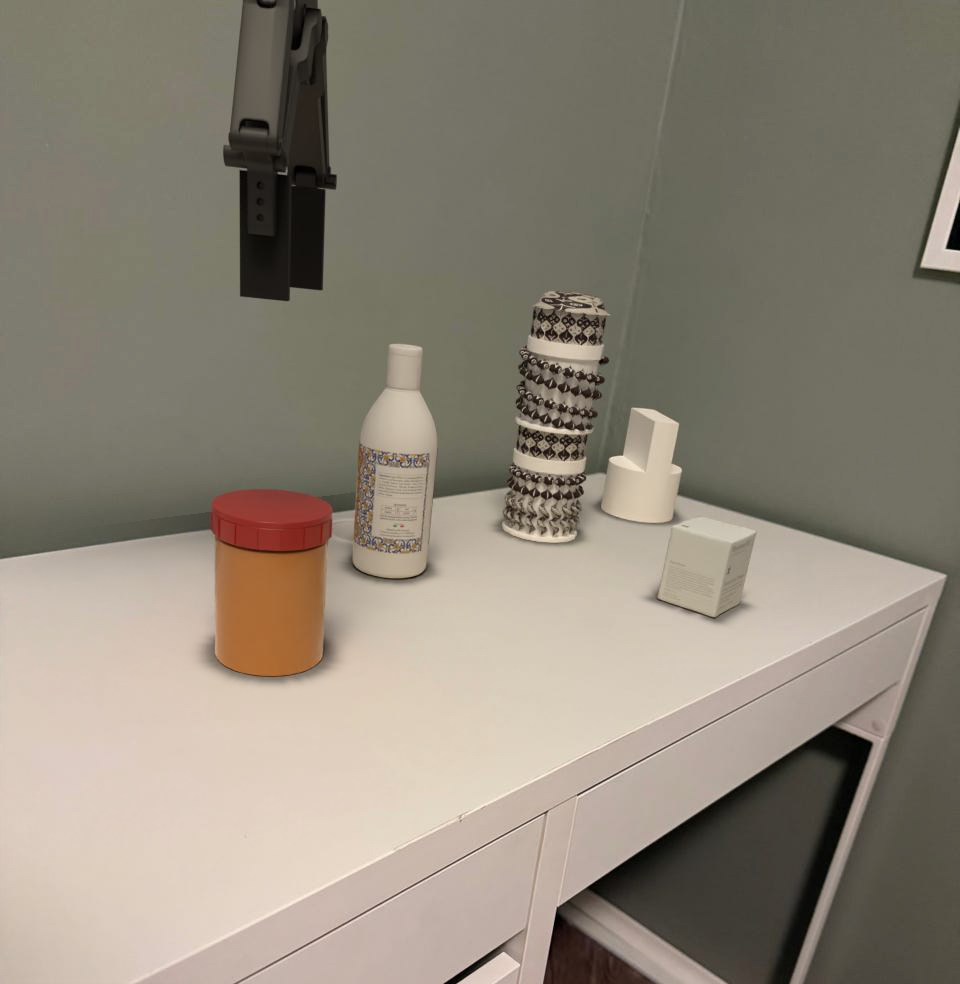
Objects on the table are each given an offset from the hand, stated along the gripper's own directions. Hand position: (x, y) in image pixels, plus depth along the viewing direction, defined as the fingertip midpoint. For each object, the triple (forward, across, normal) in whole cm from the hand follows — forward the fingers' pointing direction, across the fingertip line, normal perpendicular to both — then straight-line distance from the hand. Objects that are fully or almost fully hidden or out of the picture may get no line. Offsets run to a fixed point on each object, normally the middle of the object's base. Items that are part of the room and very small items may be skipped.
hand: (286, 293), depth 59 cm
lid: (+14, +2, 0) cm, 14 cm away
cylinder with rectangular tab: (+25, -48, +35) cm, 65 cm away
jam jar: (+24, +2, 0) cm, 25 cm away
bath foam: (+25, -19, +7) cm, 32 cm away
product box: (+25, -18, +36) cm, 47 cm away
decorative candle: (+25, -36, +22) cm, 49 cm away
